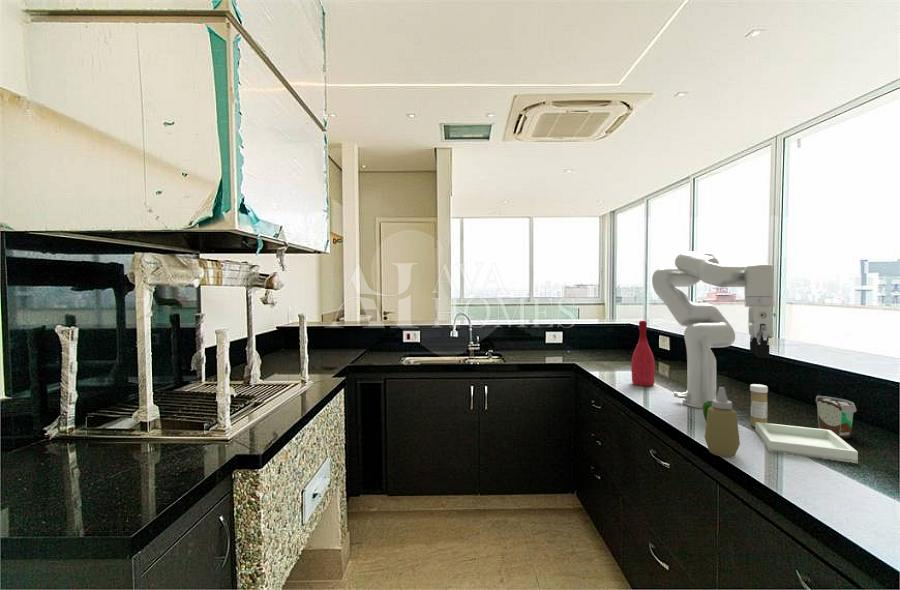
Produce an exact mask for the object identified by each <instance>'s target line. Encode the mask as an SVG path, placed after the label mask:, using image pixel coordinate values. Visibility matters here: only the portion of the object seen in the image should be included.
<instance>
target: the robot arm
mask: <svg viewBox="0 0 900 590" xmlns="http://www.w3.org/2000/svg"><path fill="white" fill-rule="evenodd" d="M651 281H652V283H651V284H652V287H653V290H654V292H655V294H656V295H657V296H658V298H659V299H660V300H661V301H662V302H663V303H664V304H665V306H666V307H667V309H668V310H669V311H670V313H671V315H672V316H673V318H674V319H675V321H676V322H677V323H678V324H679V325H680V326H682V327H684V328H685V327H686V328H685V329H684V332H683V336H684V337H683V338H684V343H685V348H686V360H687V361H686V366H687V369H686V370H687V372H686V373H687V374H686V375H687V376H686V377H687V379H686V380H687V381H686V383H687V385H686V386H687V390H685V391H683V392H678V391H673V396H674V398H678V399H683V400H682V403H683V404H684V405H685V406H688V407H691V408H694V409H695V408H696V409H702V410H703V405H704V403H706V402H707V401H712V400H713V399H716V398H717V358H716V357H715V354H714V352H713V351H712V349H713V348H726V347H731V346H732V345H733V344H734V343H735V340H736V333H735V330H734V329H733V327H732V325H731V324H730V323H729V321H728V320H727V319H726V317H724V315H723V314H722V312H721V311H720V310H719V309H718V308H717V306H715V305H713V304H710V303H705V302H701V303H700V302H693V301H692V300H691V299H690V298H689V297H688V296H687V294H686V293H684V292H683V291H682V290H680V289H678V288H679V287H681V288H683V287H686V288H687V287H694V286H695V285H696V284H697V283H699V282H701V281H702V283H704V284H708V285H711V286H715V287H719V288H744V307H745V308H747V307H748V315H747V316H748V320H747V321H748V324H747V325H748V335H749V336H750V338H749V352H750V354H756V357H757V358H762V359H763V358H765V359H767V358H770V357H771V356H770V341H769V340H770V339H772V338H773V337H774V327H773V326H774V325H773V312H772V308H774V305H775V301H774V300H775V299H774V298H775V295H774V287H775V286H774V267H773V265H772V264H771V263H770V264H769V263H753V264H743V265H742V264H720V262H719V260H718V259H717V258H716V257H715V256H714V255H713V254H712V253H710V252H708V251H686V252H681V253H680V254H678V255H677V256H676V258H675V259H674V266H666V267H664V266H663V267H660V268H658V269H656V270H655V271H653V274H652V277H651ZM711 348H712V349H711Z"/></svg>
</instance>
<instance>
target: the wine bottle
mask: <svg viewBox="0 0 900 590" xmlns="http://www.w3.org/2000/svg"><path fill="white" fill-rule="evenodd" d="M647 324H648V323H647V321H646V320H640V321H639V322H638V330H639V338H638V343H637V344H636V346H635V348H634V350H633V354H632V355H631V356H632V357H631V381H632V384H633V385H635V386H640V387H652V386H654V385H655V375H656V373H655V371H656V370H655V369H656V366H655V365H656V364H655V362H656V361H655V356H654V354H653V352H652V350H651V347H650V346H649V341H648V338H647V330H648V329H647V328H648V327H647Z"/></svg>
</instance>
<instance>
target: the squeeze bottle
mask: <svg viewBox="0 0 900 590" xmlns="http://www.w3.org/2000/svg"><path fill="white" fill-rule="evenodd" d="M712 406H713V407H710V408H708V412H707V421H706V422H705V431H704V440H705V442H706V445H707V449H708V451H709V453H710V454H712V455H714V456H717V457H722V458H734V457H735V456H736V454H737V452H738V450H739V447H740V445H741V440H740V434H739V424H738V415H737V411H735V410H734V408H733V409H732V407H733V402H732V401H731V400H728V397H727V392H726V389H725V387H724V386H721V387H720V386H719V387H718V391H717V393H716V399H713V400H712Z"/></svg>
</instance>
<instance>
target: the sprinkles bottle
mask: <svg viewBox="0 0 900 590" xmlns="http://www.w3.org/2000/svg"><path fill="white" fill-rule="evenodd" d="M749 390H750V423H749V424H750V426H751V427H753V428H755V422H761V423H768V393H769V387H768V386H767V385H764V384H760V383H758V384H757V383H752V384H750V386H749Z"/></svg>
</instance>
